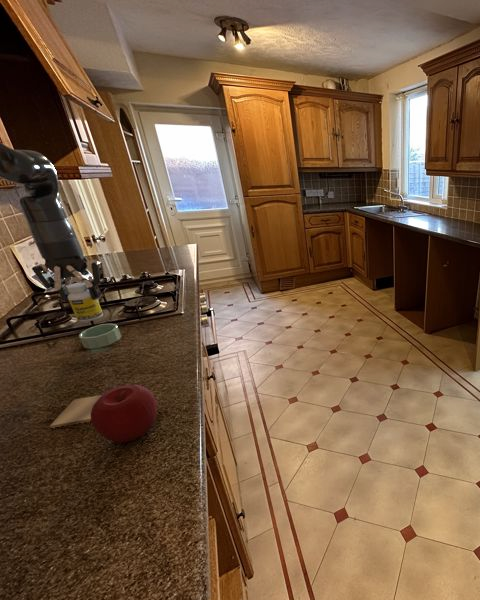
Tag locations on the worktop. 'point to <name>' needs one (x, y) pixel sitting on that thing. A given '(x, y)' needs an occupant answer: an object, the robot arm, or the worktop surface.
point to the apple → (124, 413)
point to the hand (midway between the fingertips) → (83, 299)
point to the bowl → (100, 337)
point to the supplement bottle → (83, 303)
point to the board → (76, 412)
